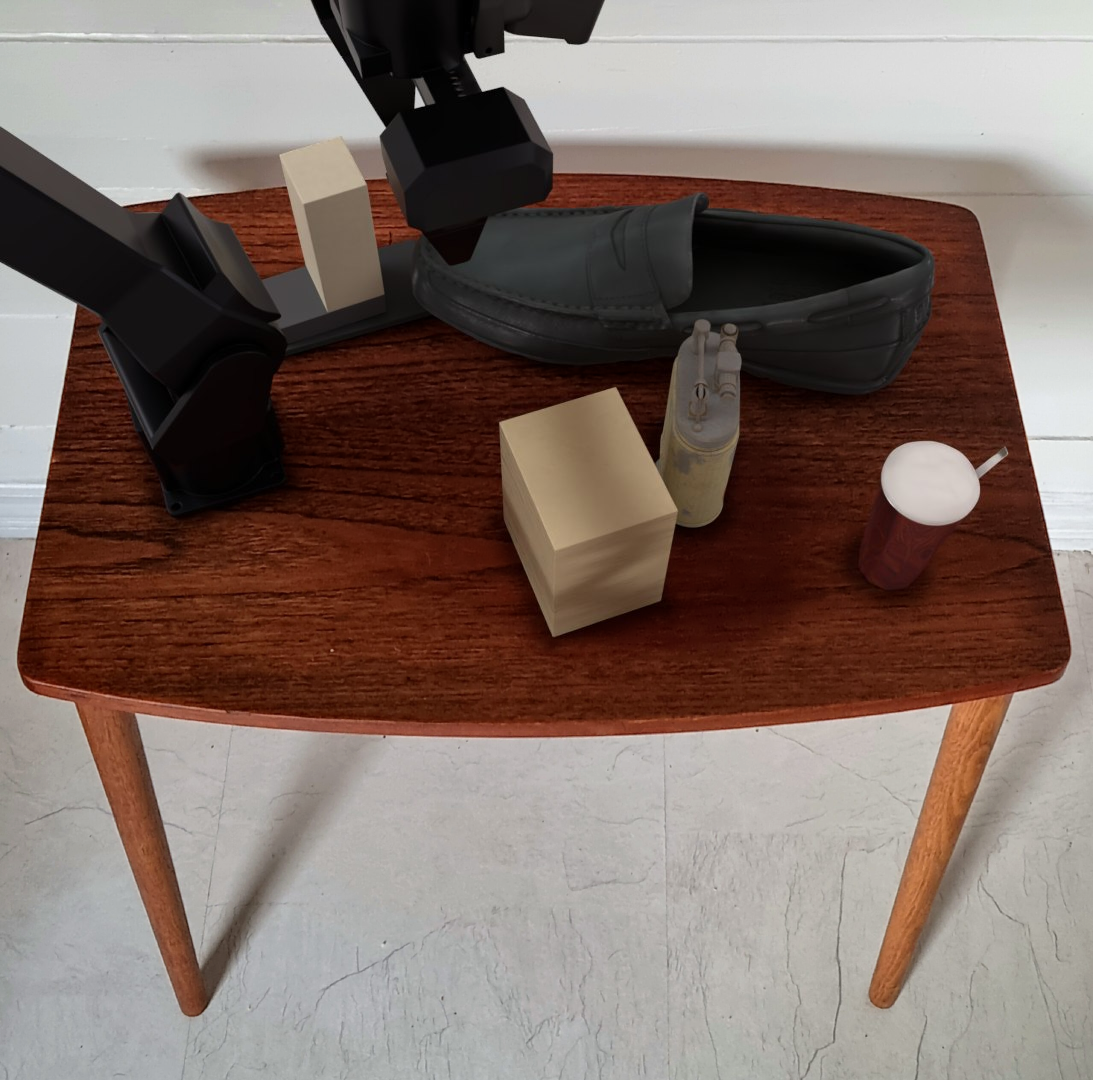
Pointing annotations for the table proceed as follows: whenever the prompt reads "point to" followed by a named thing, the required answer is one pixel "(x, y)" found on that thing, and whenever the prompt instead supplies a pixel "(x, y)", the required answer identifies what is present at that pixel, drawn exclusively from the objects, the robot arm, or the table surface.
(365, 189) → the white block
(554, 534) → the stand
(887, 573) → the milkshake
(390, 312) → the shoe mat
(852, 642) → the table surface
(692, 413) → the lighter
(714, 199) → the table surface
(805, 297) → the loafer
